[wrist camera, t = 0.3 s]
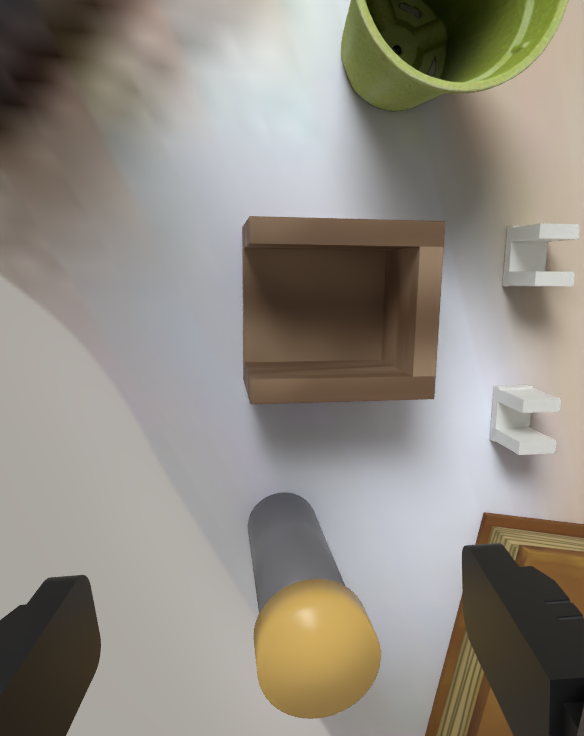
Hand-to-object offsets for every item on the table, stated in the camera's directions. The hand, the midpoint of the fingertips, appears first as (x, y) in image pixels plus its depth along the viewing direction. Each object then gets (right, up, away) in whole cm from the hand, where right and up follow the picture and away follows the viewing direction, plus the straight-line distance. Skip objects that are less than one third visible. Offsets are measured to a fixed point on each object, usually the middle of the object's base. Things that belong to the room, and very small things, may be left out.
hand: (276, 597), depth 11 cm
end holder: (+2, +9, +20) cm, 22 cm away
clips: (+15, +7, +22) cm, 27 cm away
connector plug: (0, -5, +22) cm, 23 cm away
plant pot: (+6, +22, +18) cm, 29 cm away
